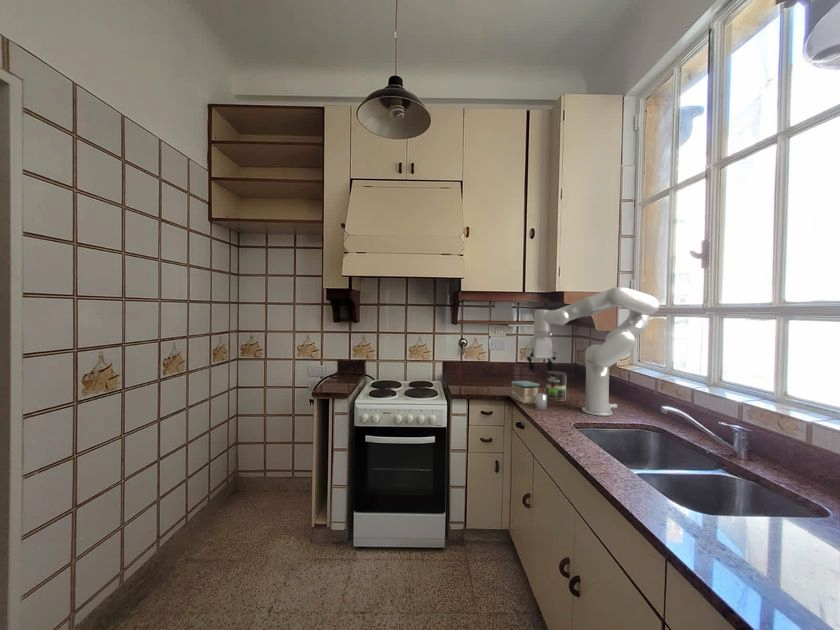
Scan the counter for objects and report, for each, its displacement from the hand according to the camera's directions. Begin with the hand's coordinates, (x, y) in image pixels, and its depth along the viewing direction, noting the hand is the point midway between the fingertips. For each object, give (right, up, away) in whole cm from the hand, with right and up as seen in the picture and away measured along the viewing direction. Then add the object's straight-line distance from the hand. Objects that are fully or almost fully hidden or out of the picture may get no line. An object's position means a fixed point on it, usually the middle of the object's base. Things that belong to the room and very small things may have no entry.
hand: (540, 370), depth 165 cm
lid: (-3, -10, +14) cm, 18 cm away
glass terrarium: (+16, -19, +21) cm, 32 cm away
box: (-3, -18, +14) cm, 24 cm away
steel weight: (0, -19, 0) cm, 18 cm away
